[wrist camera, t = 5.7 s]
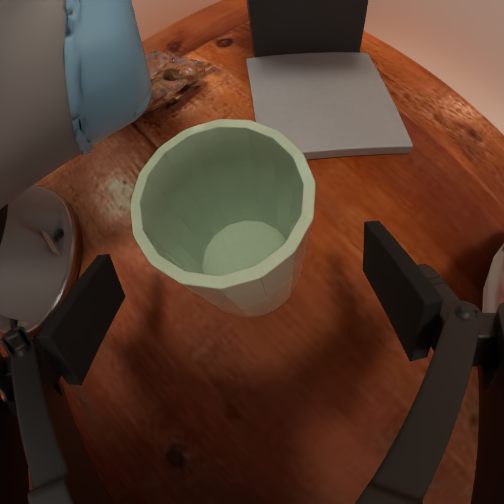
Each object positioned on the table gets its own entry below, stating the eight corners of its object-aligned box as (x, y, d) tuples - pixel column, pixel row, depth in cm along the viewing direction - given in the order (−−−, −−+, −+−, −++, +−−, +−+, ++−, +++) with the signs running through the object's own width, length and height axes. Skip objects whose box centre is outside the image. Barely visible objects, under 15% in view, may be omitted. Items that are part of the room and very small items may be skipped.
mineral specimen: (177, 45, 31) (177, 17, 24) (207, 92, 33) (213, 70, 26) (89, 95, 30) (72, 76, 23) (117, 145, 32) (102, 134, 25)
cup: (180, 284, 24) (99, 229, 13) (231, 202, 26) (196, 101, 14) (267, 336, 22) (252, 326, 11) (317, 246, 24) (344, 159, 13)
